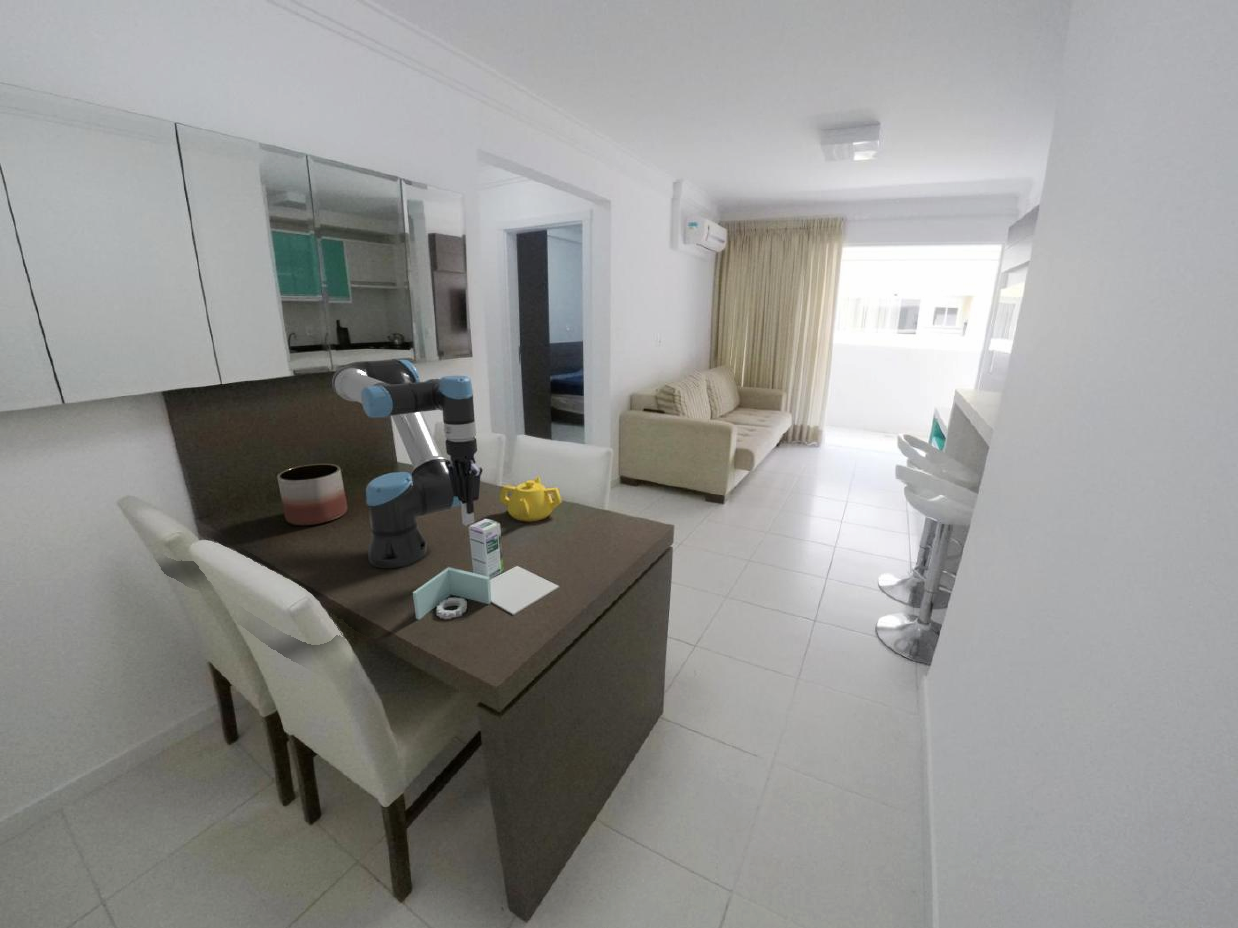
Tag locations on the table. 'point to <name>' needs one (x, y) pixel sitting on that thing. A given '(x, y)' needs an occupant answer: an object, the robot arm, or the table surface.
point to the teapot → (530, 500)
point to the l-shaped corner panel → (451, 592)
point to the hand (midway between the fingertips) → (468, 523)
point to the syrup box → (486, 548)
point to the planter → (312, 494)
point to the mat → (518, 589)
